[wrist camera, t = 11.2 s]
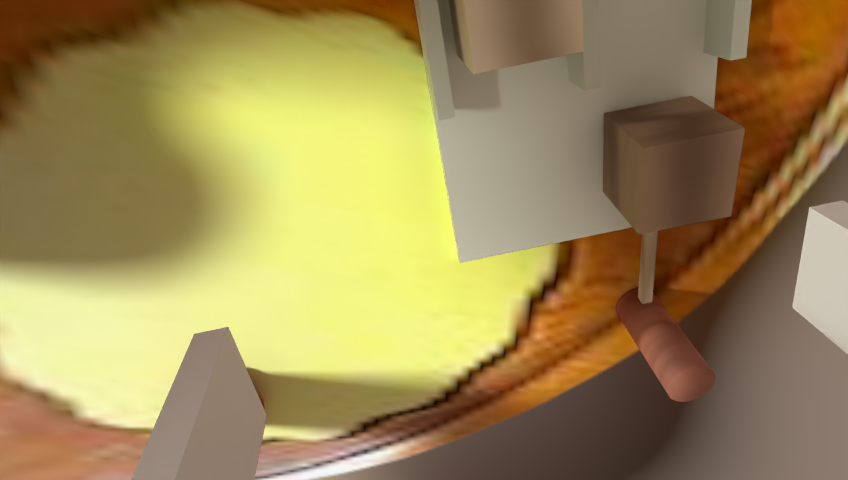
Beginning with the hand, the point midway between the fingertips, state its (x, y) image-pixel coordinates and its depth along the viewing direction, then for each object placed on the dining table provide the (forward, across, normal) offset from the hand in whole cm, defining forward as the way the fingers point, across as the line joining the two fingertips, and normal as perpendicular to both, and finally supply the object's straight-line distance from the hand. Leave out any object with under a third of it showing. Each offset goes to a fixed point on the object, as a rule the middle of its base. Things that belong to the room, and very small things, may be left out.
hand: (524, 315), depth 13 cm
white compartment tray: (+27, +10, -2) cm, 29 cm away
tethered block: (+26, +15, -14) cm, 33 cm away
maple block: (+26, +6, +4) cm, 27 cm away
